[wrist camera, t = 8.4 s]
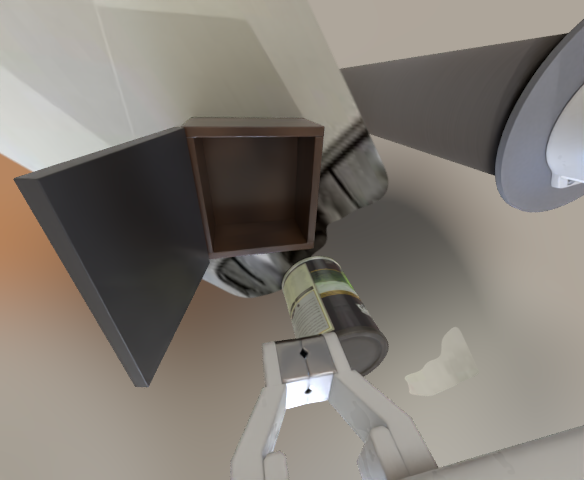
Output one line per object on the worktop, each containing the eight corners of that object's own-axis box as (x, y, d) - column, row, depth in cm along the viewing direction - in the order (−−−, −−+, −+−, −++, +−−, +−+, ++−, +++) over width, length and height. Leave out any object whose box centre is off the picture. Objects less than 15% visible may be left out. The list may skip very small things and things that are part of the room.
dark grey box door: (36, 178, 8) (11, 178, 8) (148, 387, 14) (134, 387, 14) (184, 127, 18) (173, 127, 18) (209, 262, 25) (202, 262, 25)
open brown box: (303, 118, 26) (324, 126, 21) (298, 221, 33) (313, 248, 28) (191, 117, 24) (180, 126, 19) (210, 228, 31) (206, 260, 25)
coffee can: (334, 245, 37) (384, 318, 25) (347, 289, 43) (392, 365, 31) (271, 271, 37) (292, 357, 25) (292, 312, 42) (317, 397, 31)
